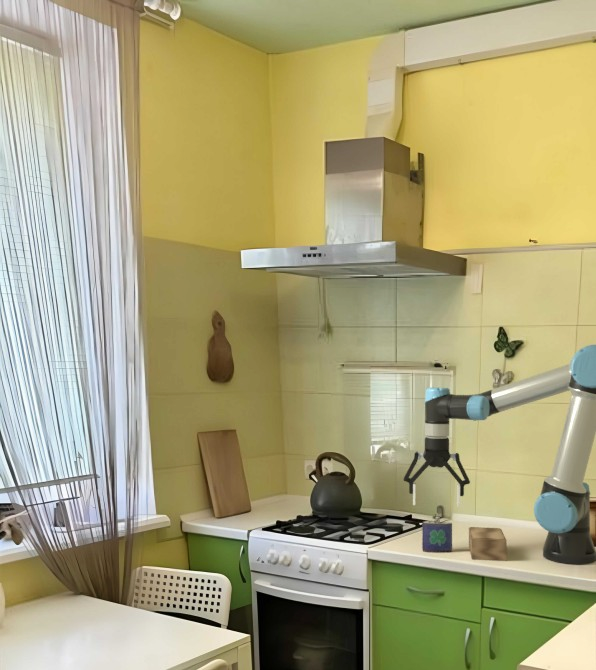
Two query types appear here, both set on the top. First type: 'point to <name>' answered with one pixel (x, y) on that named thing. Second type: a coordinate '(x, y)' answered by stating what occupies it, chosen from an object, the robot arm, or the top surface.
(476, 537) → the walnut block
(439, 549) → the flask
